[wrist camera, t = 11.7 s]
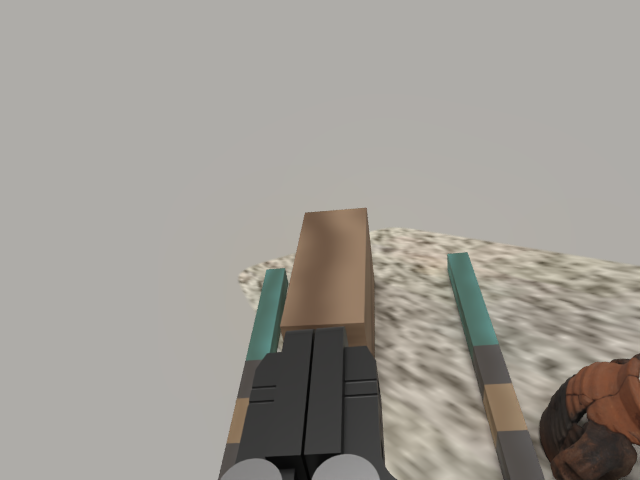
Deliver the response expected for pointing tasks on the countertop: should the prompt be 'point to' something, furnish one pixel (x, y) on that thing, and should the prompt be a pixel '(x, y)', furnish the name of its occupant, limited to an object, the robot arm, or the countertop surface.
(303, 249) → the walnut block
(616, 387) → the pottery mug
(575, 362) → the countertop surface
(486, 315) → the lane
